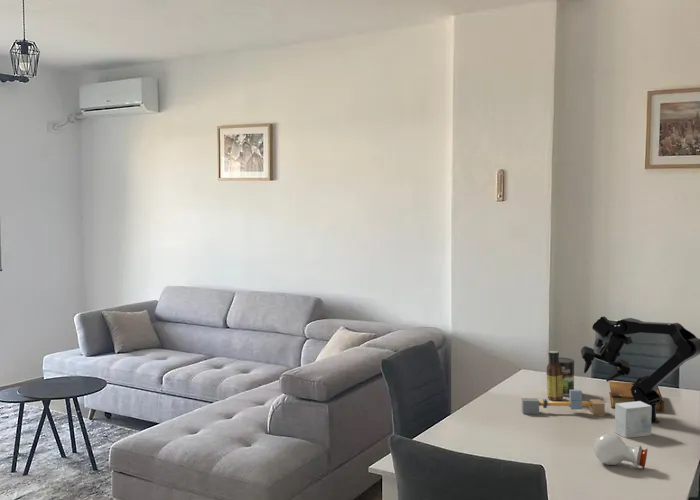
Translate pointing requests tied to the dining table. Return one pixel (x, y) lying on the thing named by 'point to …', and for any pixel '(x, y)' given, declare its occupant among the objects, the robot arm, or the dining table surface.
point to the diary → (627, 394)
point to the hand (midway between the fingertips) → (595, 376)
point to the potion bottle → (618, 451)
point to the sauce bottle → (554, 377)
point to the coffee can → (567, 374)
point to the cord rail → (533, 405)
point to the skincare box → (633, 419)
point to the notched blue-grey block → (575, 399)
